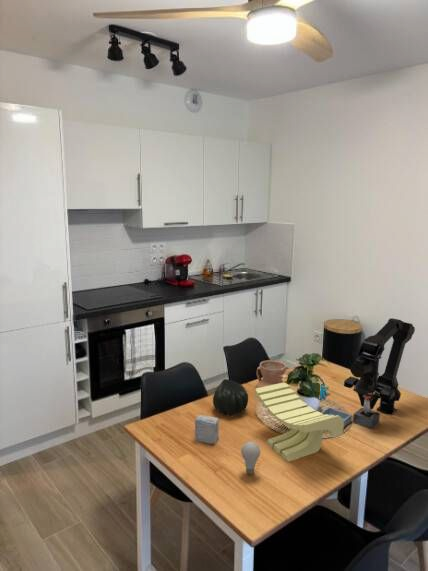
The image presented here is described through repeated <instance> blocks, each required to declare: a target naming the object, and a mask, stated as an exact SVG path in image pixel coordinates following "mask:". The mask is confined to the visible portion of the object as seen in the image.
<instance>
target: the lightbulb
mask: <svg viewBox="0 0 428 571" xmlns="http://www.w3.org/2000/svg"><path fill="white" fill-rule="evenodd" d="M240 453H241V457H242V458H243V461H244V463H245V464H244V465H245V472H246V474H248V475H252V474H254V473H255V468H256V464H257V461H258V459H259V457H260V456H261V449H260V446H259V444H258V443H257V442H255V441H246V442H245V443H243V445H242V446H241V451H240Z"/></svg>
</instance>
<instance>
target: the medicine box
mask: <svg viewBox="0 0 428 571" xmlns="http://www.w3.org/2000/svg"><path fill="white" fill-rule="evenodd" d="M219 421H220V420H219V418H218V417H213V416H209V415H203V414H199V415H198V416H197V417H196V419H195V420H194V434H195V435H194V436H195V437H194V441H195V442H199V443H205V444H210V445H214V446H215V445H216V444H217V443H218V441H219V437H220V436H219V434H220V432H219V430H220V429H219V425H220V424H219Z"/></svg>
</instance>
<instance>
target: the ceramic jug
mask: <svg viewBox="0 0 428 571" xmlns="http://www.w3.org/2000/svg"><path fill="white" fill-rule="evenodd" d="M286 371H287V365H286V364H285V363H284V362H281V361H277V360H269V359H268V360H263V361H261V362H260V363H259V366H258V367H257V369H256V377H257V380H258V382H257V384H256V388H260V387H265V386H270V385H274V384H279V383H286V382H285V381H283V380H282V379H284V380H286V379H287V378H288V375H286V374H285V373H286ZM261 376H262V377H261Z"/></svg>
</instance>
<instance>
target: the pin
mask: <svg viewBox="0 0 428 571" xmlns="http://www.w3.org/2000/svg"><path fill="white" fill-rule="evenodd" d="M373 394H374V393H369V394H368V395H363V394H362V396H363V397H364V405H363V407H362V408H363V415H365V416H368V417H371V411H372V409H371V404H372V395H373Z"/></svg>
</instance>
